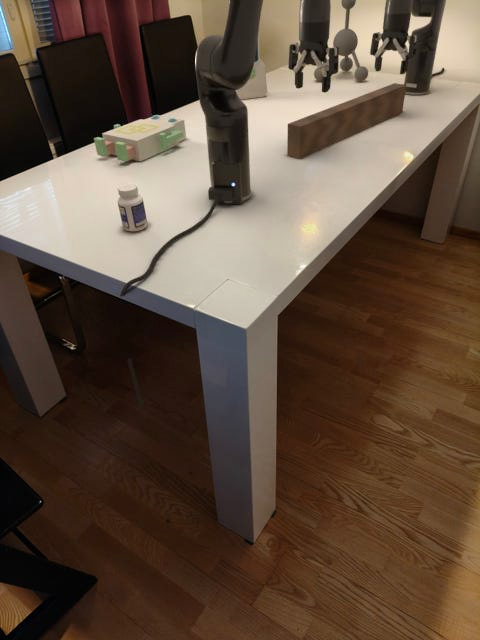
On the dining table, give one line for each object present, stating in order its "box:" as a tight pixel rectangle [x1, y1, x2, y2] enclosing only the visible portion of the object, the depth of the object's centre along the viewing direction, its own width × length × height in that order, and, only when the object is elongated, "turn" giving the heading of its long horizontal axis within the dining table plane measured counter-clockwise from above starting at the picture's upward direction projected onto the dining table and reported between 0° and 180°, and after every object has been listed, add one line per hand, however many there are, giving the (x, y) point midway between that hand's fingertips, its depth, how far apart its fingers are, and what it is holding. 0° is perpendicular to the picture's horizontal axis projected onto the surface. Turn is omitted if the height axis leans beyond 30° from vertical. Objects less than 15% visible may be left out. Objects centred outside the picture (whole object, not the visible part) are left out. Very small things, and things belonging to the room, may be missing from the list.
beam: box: [286, 83, 406, 160], centre depth 146 cm, size 54×4×9 cm, turn 136°
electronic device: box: [236, 30, 268, 100], centre depth 180 cm, size 12×8×30 cm, turn 105°
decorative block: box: [93, 114, 187, 162], centre depth 144 cm, size 26×6×20 cm
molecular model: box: [313, 0, 369, 82], centre depth 196 cm, size 24×22×30 cm
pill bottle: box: [117, 182, 148, 232], centre depth 102 cm, size 5×5×9 cm
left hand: (311, 89), depth 129 cm, fingers open, 8 cm apart
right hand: (390, 72), depth 151 cm, fingers open, 8 cm apart
